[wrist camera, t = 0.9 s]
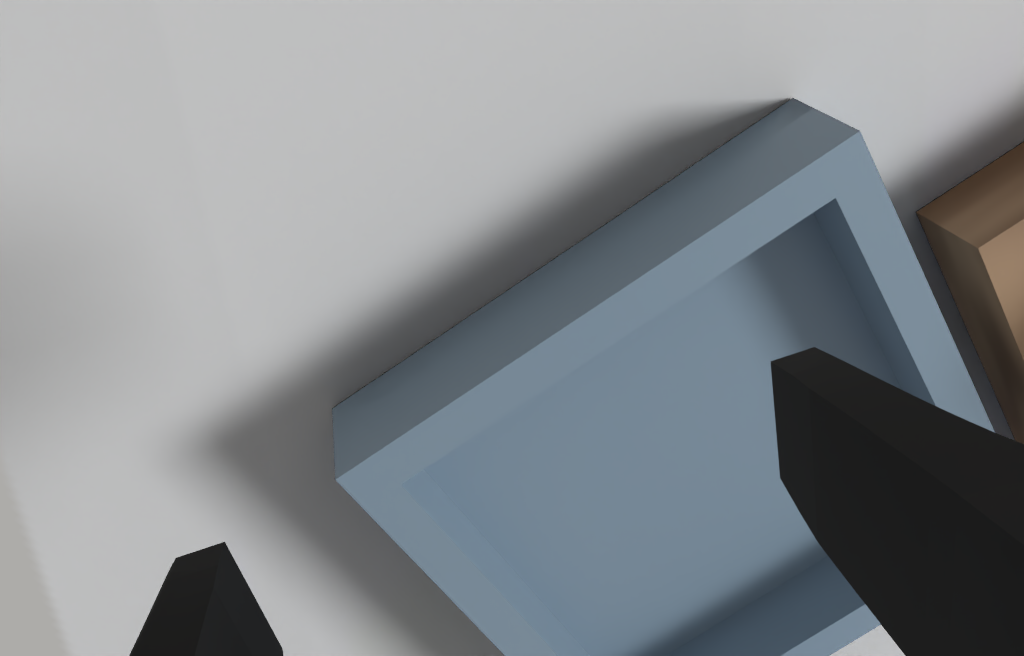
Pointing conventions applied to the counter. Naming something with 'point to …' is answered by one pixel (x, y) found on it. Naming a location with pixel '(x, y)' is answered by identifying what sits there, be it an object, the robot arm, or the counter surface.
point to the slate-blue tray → (655, 412)
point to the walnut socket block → (987, 270)
